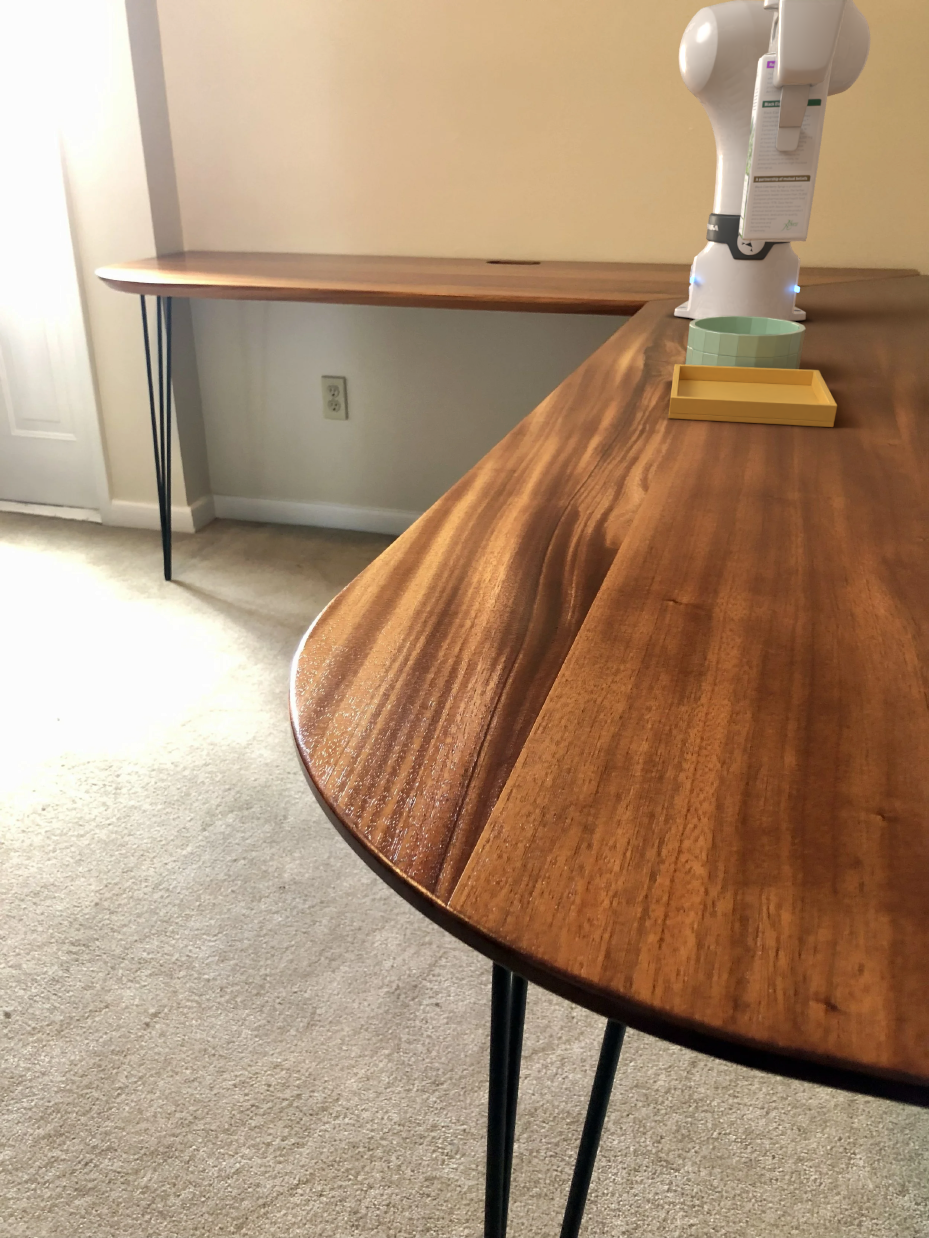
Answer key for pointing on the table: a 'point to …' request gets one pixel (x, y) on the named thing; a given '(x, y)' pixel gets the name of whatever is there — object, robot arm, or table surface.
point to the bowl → (745, 342)
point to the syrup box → (780, 164)
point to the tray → (751, 395)
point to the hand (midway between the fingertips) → (782, 151)
